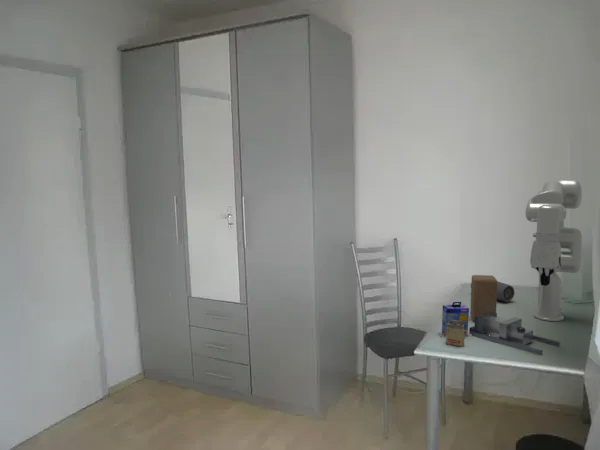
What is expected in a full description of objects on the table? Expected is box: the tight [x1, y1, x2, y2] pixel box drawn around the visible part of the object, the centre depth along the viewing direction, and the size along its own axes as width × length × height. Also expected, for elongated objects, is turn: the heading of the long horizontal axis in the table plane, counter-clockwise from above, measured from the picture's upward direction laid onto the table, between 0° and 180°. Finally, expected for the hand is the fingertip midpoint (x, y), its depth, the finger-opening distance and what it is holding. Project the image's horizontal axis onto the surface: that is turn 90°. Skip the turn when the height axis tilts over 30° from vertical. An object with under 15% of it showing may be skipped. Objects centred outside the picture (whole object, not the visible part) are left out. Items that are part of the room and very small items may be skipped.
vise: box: [468, 311, 561, 356], centre depth 205 cm, size 16×31×8 cm, turn 39°
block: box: [469, 274, 498, 322], centre depth 232 cm, size 10×10×20 cm
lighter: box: [445, 319, 465, 347], centre depth 201 cm, size 7×4×10 cm, turn 57°
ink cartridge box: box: [441, 301, 470, 337], centre depth 212 cm, size 10×6×14 cm, turn 95°
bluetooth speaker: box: [497, 280, 515, 302], centre depth 270 cm, size 23×9×10 cm, turn 25°
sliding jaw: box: [499, 316, 534, 346], centre depth 204 cm, size 12×9×8 cm
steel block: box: [486, 316, 507, 338], centre depth 210 cm, size 5×8×7 cm, turn 39°
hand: (544, 285), depth 194 cm, fingers closed
